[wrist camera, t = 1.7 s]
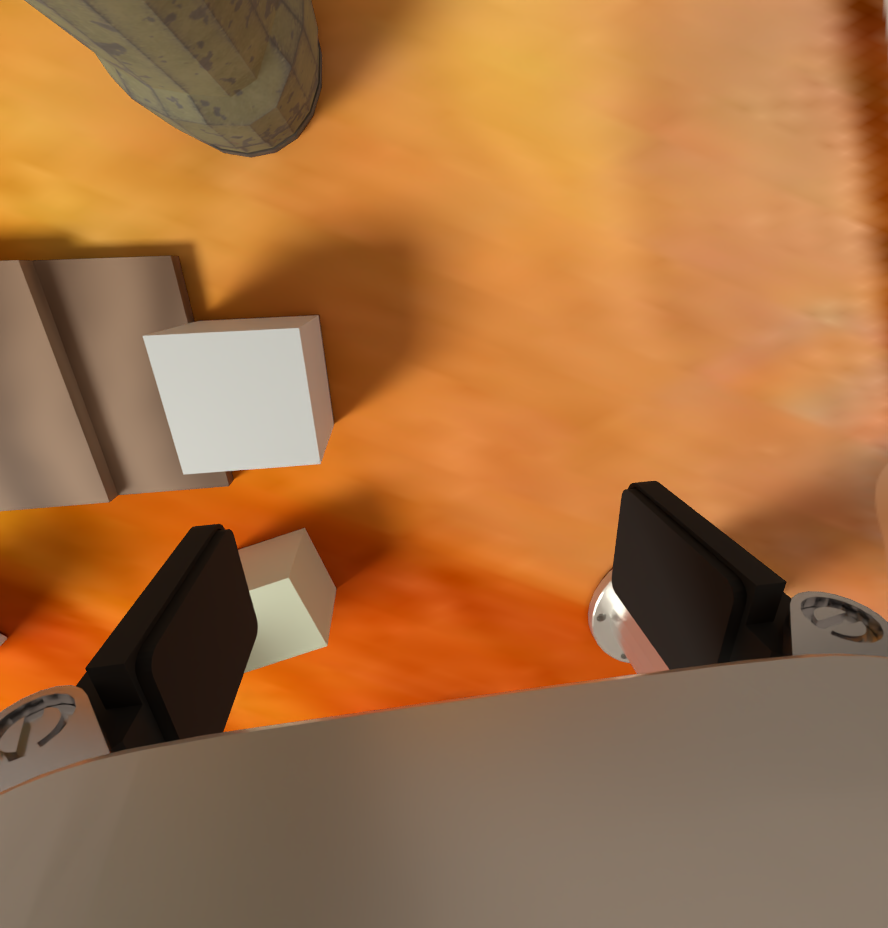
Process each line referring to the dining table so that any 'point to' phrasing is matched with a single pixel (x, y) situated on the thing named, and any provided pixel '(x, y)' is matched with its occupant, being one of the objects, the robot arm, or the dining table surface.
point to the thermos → (208, 63)
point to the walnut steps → (87, 381)
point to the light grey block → (244, 392)
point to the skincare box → (2, 639)
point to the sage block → (287, 597)
